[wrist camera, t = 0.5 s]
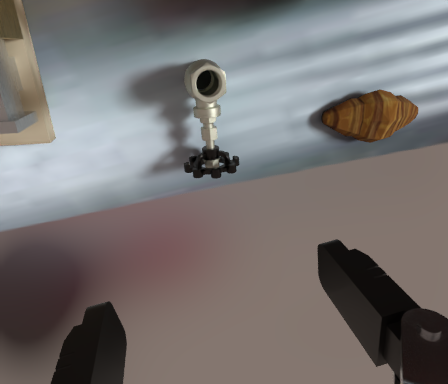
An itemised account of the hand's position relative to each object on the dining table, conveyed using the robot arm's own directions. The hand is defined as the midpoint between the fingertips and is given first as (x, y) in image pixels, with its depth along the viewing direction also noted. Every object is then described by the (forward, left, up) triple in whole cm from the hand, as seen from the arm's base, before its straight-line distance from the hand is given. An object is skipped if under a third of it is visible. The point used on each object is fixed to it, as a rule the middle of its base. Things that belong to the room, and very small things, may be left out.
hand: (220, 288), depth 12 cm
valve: (-1, +3, -29) cm, 29 cm away
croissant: (0, +25, -29) cm, 38 cm away
